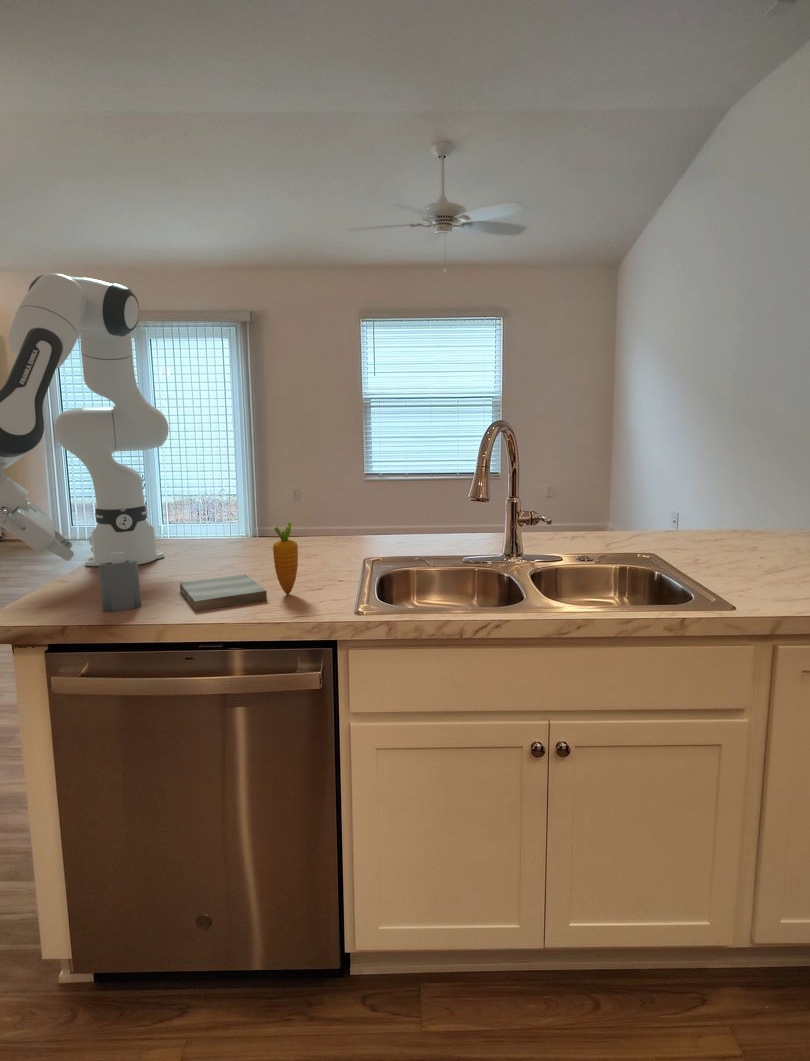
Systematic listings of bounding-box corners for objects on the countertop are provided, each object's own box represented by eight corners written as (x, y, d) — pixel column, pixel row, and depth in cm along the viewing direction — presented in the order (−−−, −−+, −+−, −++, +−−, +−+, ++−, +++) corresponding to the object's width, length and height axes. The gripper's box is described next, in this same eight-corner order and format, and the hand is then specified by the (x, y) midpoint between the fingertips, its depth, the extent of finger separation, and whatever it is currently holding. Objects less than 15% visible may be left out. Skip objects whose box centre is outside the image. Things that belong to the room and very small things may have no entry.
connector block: (103, 612, 128) (97, 556, 126) (102, 608, 131) (96, 553, 129) (142, 606, 131) (137, 552, 129) (140, 603, 134) (135, 549, 132)
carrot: (276, 598, 135) (272, 525, 133) (274, 592, 140) (270, 521, 137) (301, 596, 137) (298, 524, 134) (298, 590, 141) (294, 520, 139)
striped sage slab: (180, 591, 142) (179, 582, 141) (246, 582, 148) (245, 574, 148) (195, 611, 128) (194, 601, 128) (266, 600, 134) (266, 590, 134)
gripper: (14, 498, 111) (85, 549, 117) (18, 486, 128) (80, 531, 135) (-15, 527, 109) (59, 577, 116) (-6, 511, 127) (57, 555, 133)
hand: (70, 552), depth 125 cm, fingers open, 8 cm apart
